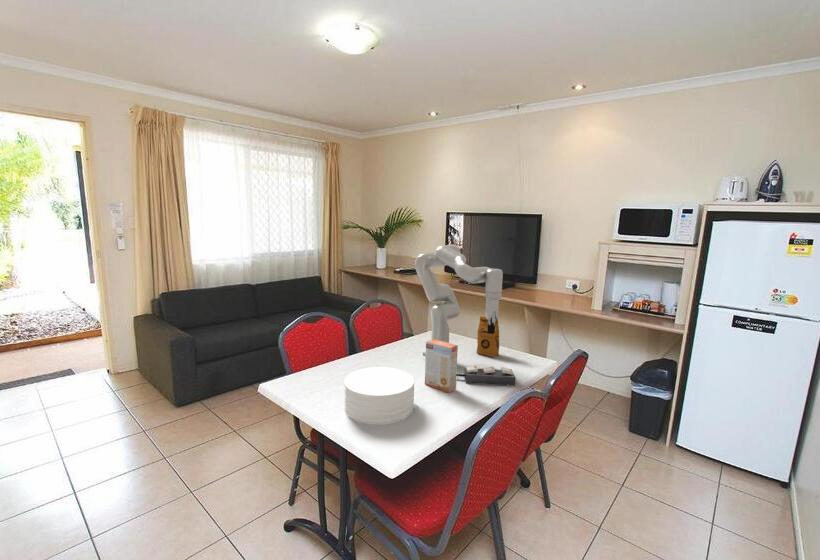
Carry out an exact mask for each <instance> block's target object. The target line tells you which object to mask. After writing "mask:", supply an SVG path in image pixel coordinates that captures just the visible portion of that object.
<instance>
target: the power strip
mask: <svg viewBox="0 0 820 560" xmlns="http://www.w3.org/2000/svg"><path fill="white" fill-rule="evenodd" d="M456 377H463V378H464V382H465V384H473V385H475V384H476V385H493V386H513V387H516V379H517V377H516V376H515V373H514V372H513V375H511V374H507V373H503V372H502V370H501V369H495V372H491V373H484V371H483V368H478V371H475V372H468V373H467V368H466V367H464V372H463V373H457V376H456Z"/></svg>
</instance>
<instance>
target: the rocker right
mask: <svg viewBox="0 0 820 560" xmlns="http://www.w3.org/2000/svg"><path fill="white" fill-rule="evenodd" d="M500 370H502V372H503V373H507V374H511V375H513V373H514V371H513V369H512V368H508V367H505V366H501V368H500Z"/></svg>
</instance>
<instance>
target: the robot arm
mask: <svg viewBox="0 0 820 560" xmlns="http://www.w3.org/2000/svg"><path fill="white" fill-rule="evenodd" d="M466 261H467V259H466V255H465V254H463V253H462V252H461V249H460V248H459V247H458V246H457V245H455V244H445V245H440V246H438V247H437V248H436V249H435V251H434V252H424V253H421V254H419V255H417V257H416V259H415V262H414V269H415V271H416V274H417V276H418V277H419V280H420V282H421V285H422V287H423V290H424V293H425V296H426V298H427V300H428V301H429V302H430V303H432V304H433V303H437V304H435V305H433V306H432V307H431V309H430V320H431V338H430V340H432V339H435V340H439V341H443V342H446V343H450V327H449V324H448V321H451V320H454V319H457V318H458V317H459V316H460V313H461V309H460V305H459V303H458V300H457V298H456V295H455V293H454V290H453V288H452V287H451V286H450V285H449V284H447V283H439V281H438V279H437V276H436V275H435V273H434V272H433V270H431V269H436V268H438V269H439V268H443V267H446V266H447V267H448V266H449V267H450V268H452V269H453V270H454V272H455V274H456V275H457V277H458V278H460V279H462V280H464V281H465V282H467V283H469V284H481V283H485V289H484V291H485V292H484V298H485V300H486V302H485V313H484V317H486V318H487V320H488V333H492V334H494V333H495V320H498V321H499V310H500V309H499V306H500V300H502V296H503V295H502V291H503V278H504V277H503V276H504V275H503V274H504V272H503V270H502V269H500V268H492V267H488V266H476V267H472V266H470V265H469V264H467V263H466ZM440 302H441V303H440ZM422 356H423V357H425V358H426V351H422Z"/></svg>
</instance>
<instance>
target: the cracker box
mask: <svg viewBox="0 0 820 560" xmlns="http://www.w3.org/2000/svg"><path fill="white" fill-rule="evenodd" d="M458 347H459V346H458V345H457V344H454V343H450V342H449V343H446V342H443V341H439V340H435V339H432V340H431V339H429V340H427V341H425V352H426V357H425V360H424V361H425V365H424V367H425V370H424V385H426V386H429V387H432V388H434V389H436V390H437V389H438V390H439V391H440V390H441V391H443V392H445V393H451V392H454V391H455V390H456V389H457V377H458V376H457V374H458V372H457V371H458V349H459V348H458Z"/></svg>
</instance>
